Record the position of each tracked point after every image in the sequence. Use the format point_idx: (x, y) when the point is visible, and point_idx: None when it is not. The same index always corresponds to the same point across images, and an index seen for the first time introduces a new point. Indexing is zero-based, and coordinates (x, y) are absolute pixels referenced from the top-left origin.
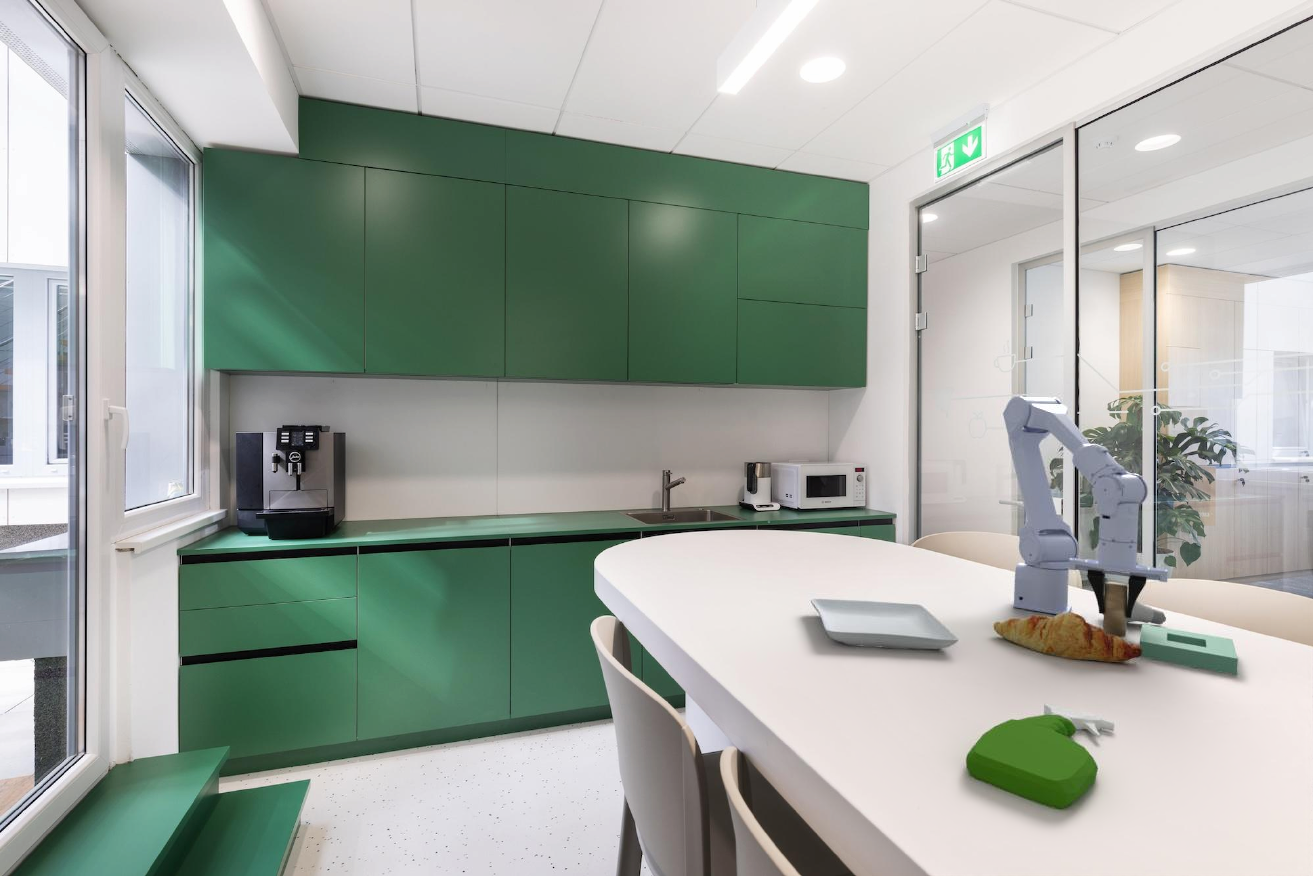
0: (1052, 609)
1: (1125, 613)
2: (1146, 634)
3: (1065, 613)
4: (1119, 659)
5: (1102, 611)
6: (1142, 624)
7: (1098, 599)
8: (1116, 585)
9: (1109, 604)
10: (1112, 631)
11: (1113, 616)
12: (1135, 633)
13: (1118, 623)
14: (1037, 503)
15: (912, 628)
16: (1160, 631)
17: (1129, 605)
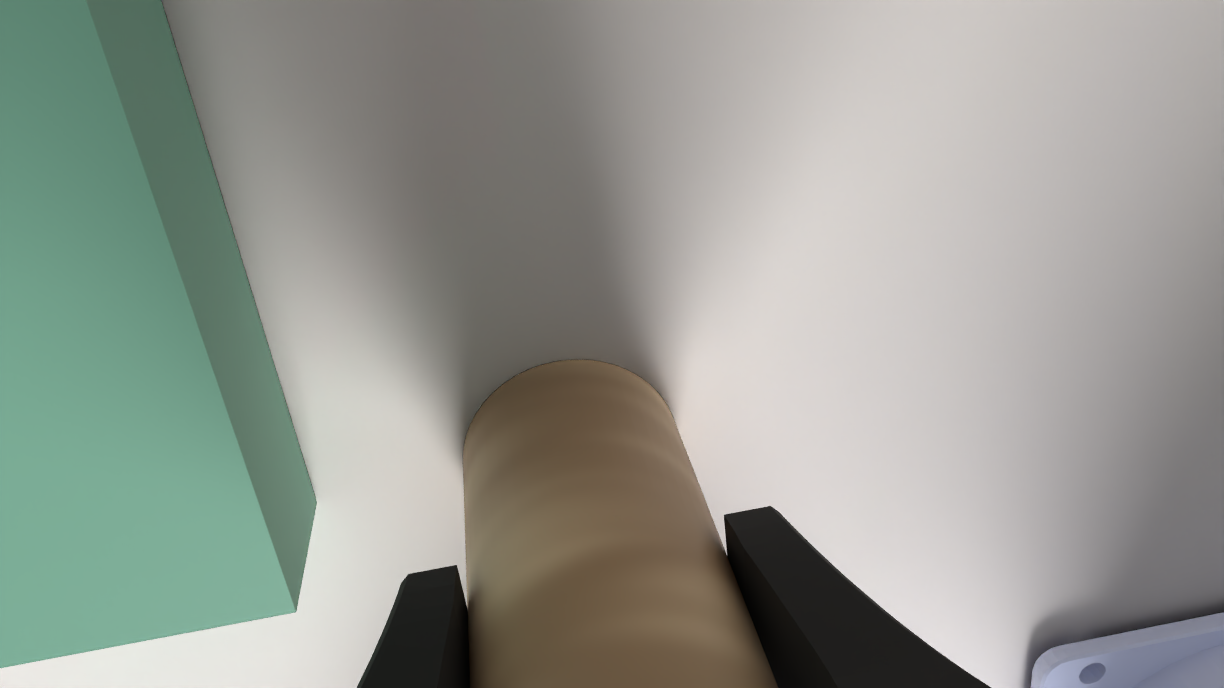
0: (1178, 677)
1: (474, 621)
2: (39, 104)
3: (1058, 675)
4: None
5: (745, 524)
6: (288, 599)
7: (862, 616)
8: None
9: (687, 609)
10: (575, 379)
11: (595, 489)
12: None
13: (528, 460)
14: None
15: None
16: (4, 455)
17: (404, 685)
